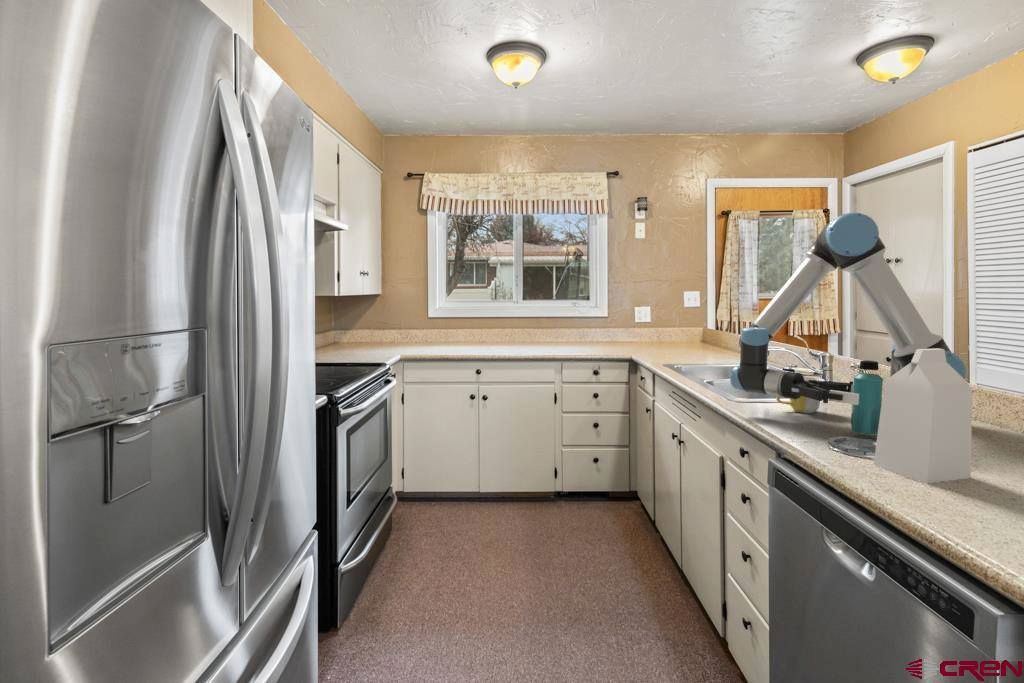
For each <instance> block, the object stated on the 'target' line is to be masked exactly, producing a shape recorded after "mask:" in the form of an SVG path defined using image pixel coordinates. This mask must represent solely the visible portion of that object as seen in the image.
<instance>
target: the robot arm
mask: <svg viewBox="0 0 1024 683" xmlns="http://www.w3.org/2000/svg"><path fill="white" fill-rule="evenodd" d="M886 249H887V246H885V244H884V243H883V240H882V239H881V238H880V233H879V227H878V224H877V223H876V221H874V219H873V218H872V217H871V216H869V215H868V214H867V215H866V214H865V213H860V212H849V213H843V214H841V215H838V216H837V217H836V218H833V219H832V220H831V221H830V222H828V223H827V224H826V225H825V226H824V227H823V228H822V230H821V231H820V232H819V234H818V236H817V237H816V239H815V241H814V242H813V243H812V245H811V246H810V247H809V249H808V250H807V252H805V253H806V258H805V259H804V260H803V262H802V263H801V264H800V265H799V267H797V269H796V270H795V271H794V273H793V274H792V275H791V276H790V277H789V278H788V280H787V281H786V282H785V283H784V284H783V286H782V287H781V288H780V290H778V291H777V293H776V294H775V295H774V296H773V298H772V299H771V300H770V301H769V303H768V304H767V305H766V306H765V307H764V309H763V310H762V311H761V312H760V314H758V316H757V317H756V319H754V321H753V322H752V323H751V325H750V326H749V327H748V326H747V327H743V328H742V329H741V333H740V336H739V340H738V346H739V347H740V361H739V365H735V366H734V367H733V368H732V369H731V374H730V375H729V376H730V377H729V380H730V385H731V387H733V388H734V389H735V390H739V391H744V392H746V393H755V394H760V395H761V394H762V395H768V396H772V398H775V399H776V396H779V397H780V398H782V397H783V398H787V399H790V398H791V399H798V398H800V397H801V396H804V397H807V398H811V399H814V400H818V401H820V402H821V401H822V404H828V403H829V401H830V402H834V403H835V402H836V403H843V404H848V405H852V404H854V405H858V404H859V394H856V393H853V392H854V381H851V380H850V381H849V382H839V381H826V380H825V381H816V380H809V381H805V380H804V377H803V376H804V375H803V374H802V373H800V372H797V371H796V372H794V371H786V370H779V369H772V368H771V369H769V368H768V355H769V354H768V353H769V343H770V341H772V339H773V338H774V337H775V336H776V334H777V333H778V332H779V331H780V330H781V329H782V327H783V326H784V325H785V324H786V323H787V321H788V320H789V319H790V318H791V317H792V315H794V313H795V312H796V311H797V310H798V309H799V307H800V306H801V305H802V304H803V303H804V302H805V300H806V299H807V298H808V297H809V296H810V294H811V293H813V291H814V290H815V289H816V288H817V286H818V285H819V284H820V283H821V282H822V281H823V280H824V279H825V277H826V276H827V275H828V274H829V273H830V272H834V271H836V270H837V268H838V267H839V269H840V270H841V271H843V272H848V273H850V275H851V277H852V279H854V281H855V283H856V285H857V286H858V287H859V288H858V289H859V290H860V291H861V292H862V294H863V296H864V297H865V299H866V300H867V302H868V304H869V306H870V307H871V308H872V310H873V312H874V314H875V315H876V317H877V319H878V320H879V322H880V323H881V325H882V326H883V328H884V329H885V331H886V333H887V334H888V336H889V337H890V340H891V341H892V343H893V344H892V348H891V351H890V353H891V359H890V360H891V362H890V371H889V372H890V376H889V378H890V377H891V376H892V375H894V374H895V373H896V372H898V371H899V370H901V369H902V368H904V367H905V366H907V365H908V364H909V363H911V361H912V359H913V356H914V354H915V352H916V350H917V349H936V348H938V349H944V350H945V356H946V362H947V363H948V364H949V365H950V366H951V367H952V368H953V369H954V370H955V371H956V372H957V373H958V374H959V375H960V376H961V377H963V378H964V379H965V378H966V377H967V376H966V375H967V369H966V368H967V367H966V364H965V362H964V361H963V360H962V358H960V357H959V355H957V354H956V353H954V352H952V351H951V349H950V348H949V346H948V344H947V342H946V341H945V340H944V338H943V337H942V335H940V334H935V333H933V332H931V330H930V329H929V327H928V326H927V324H926V322H925V321H924V320H923V318H922V316H921V314H920V313H919V311H918V310H917V308H916V307H915V305H914V303H913V302H912V300H911V299H910V297H909V295H908V294H907V292H906V290H905V288H904V287H903V286H902V284H901V283H900V281H899V279H898V278H897V276H896V274H895V273H894V271H893V269H892V268H891V267H890V265H889V263H888V262H887V260H886V259H885V257H884V255H885V252H886ZM965 380H966V379H965Z"/></svg>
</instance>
